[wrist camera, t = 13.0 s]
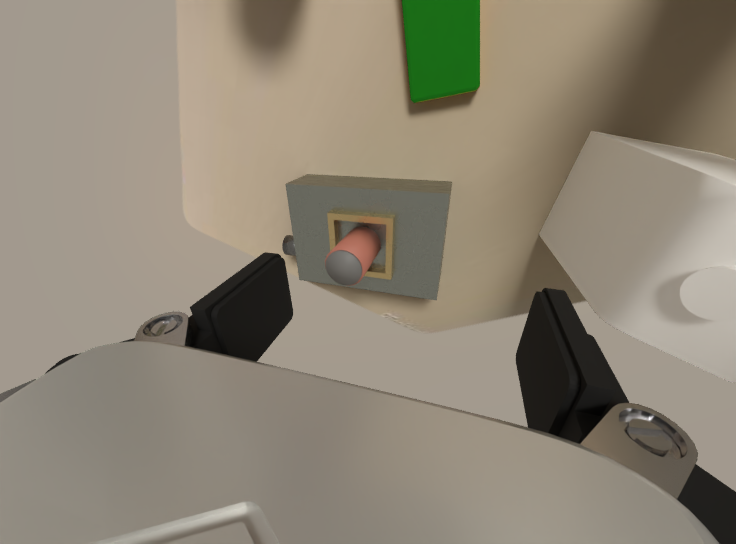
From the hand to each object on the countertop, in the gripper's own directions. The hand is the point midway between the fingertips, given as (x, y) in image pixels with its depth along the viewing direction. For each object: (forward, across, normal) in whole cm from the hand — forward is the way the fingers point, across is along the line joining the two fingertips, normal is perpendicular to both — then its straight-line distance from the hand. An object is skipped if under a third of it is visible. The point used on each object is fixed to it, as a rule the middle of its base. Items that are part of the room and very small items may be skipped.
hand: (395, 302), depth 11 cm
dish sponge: (+31, +2, -14) cm, 34 cm away
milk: (+31, -19, +3) cm, 36 cm away
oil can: (+24, +9, +9) cm, 27 cm away
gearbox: (+30, +10, +9) cm, 33 cm away
